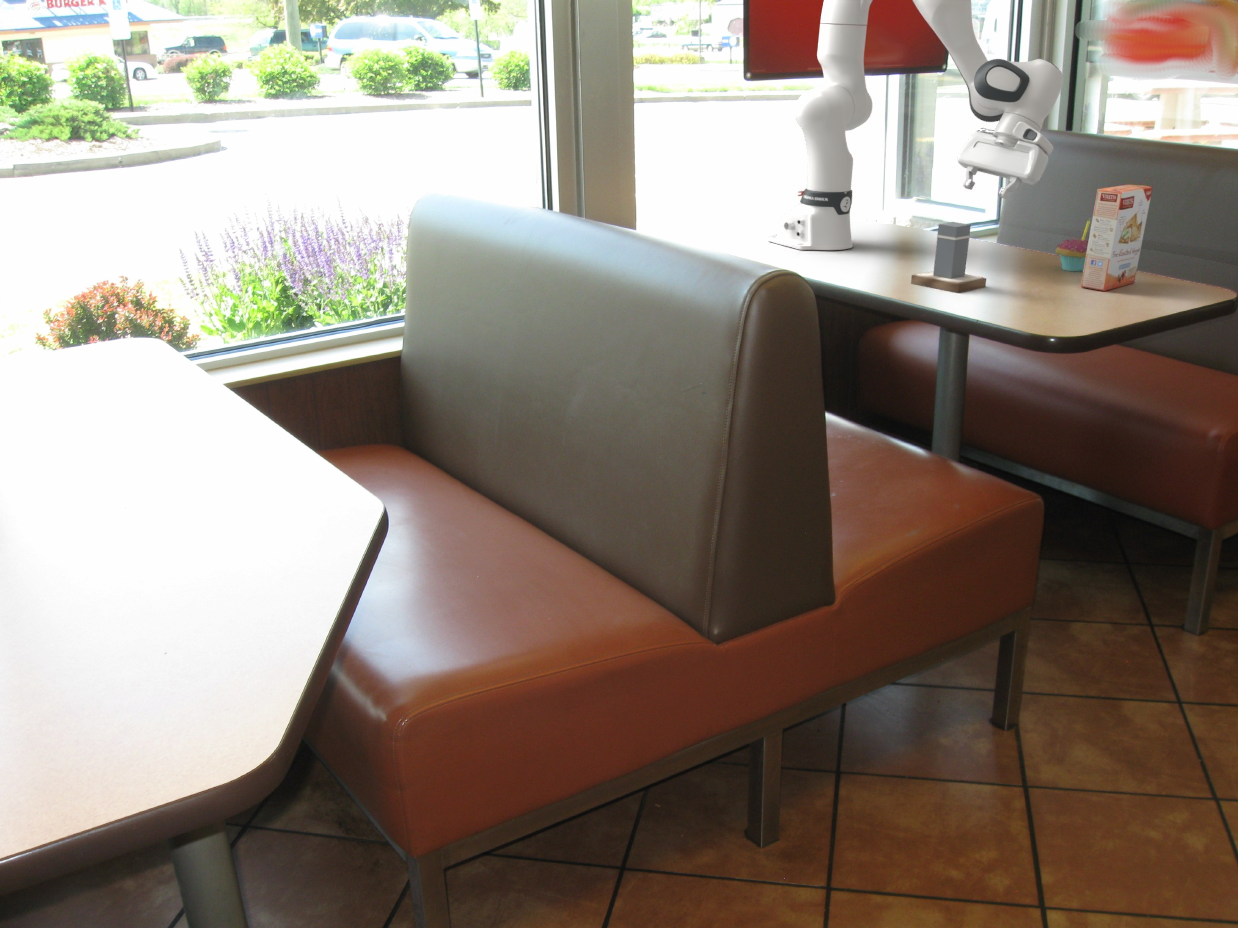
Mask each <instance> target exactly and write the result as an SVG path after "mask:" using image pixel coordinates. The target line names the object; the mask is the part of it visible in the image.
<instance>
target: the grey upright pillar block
mask: <svg viewBox="0 0 1238 928" xmlns="http://www.w3.org/2000/svg"><path fill="white" fill-rule="evenodd" d="M971 226H972V225H971V224H969V223H963V222H955V221H951V222H945V223H939V224H938V228H937V234H936V235H937V236H936V244H935V245H936V246H935V247H936V248H935V255H934V265H933V271H934V273H933V276H938V277H943V278H948V279H953V278H958V277H962V276H965V274H966V268H967V262H968V260H967V259H968V251H969V244H970V243H969V242H970V237H971V235H970V234H971V233H970V232H971Z"/></svg>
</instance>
